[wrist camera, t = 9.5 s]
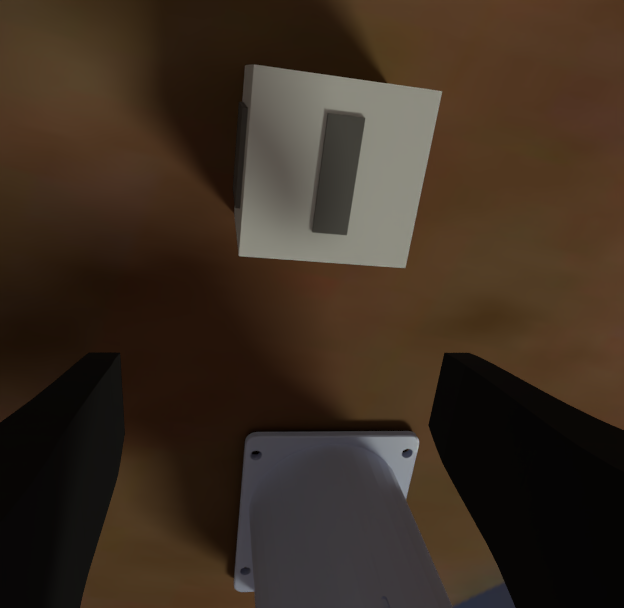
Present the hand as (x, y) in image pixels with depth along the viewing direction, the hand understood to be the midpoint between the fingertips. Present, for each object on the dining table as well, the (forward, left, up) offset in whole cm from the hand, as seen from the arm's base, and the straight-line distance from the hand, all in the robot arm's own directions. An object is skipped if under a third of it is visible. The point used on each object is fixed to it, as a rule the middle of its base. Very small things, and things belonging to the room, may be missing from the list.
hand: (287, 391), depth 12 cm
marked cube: (+4, -2, -10) cm, 11 cm away
